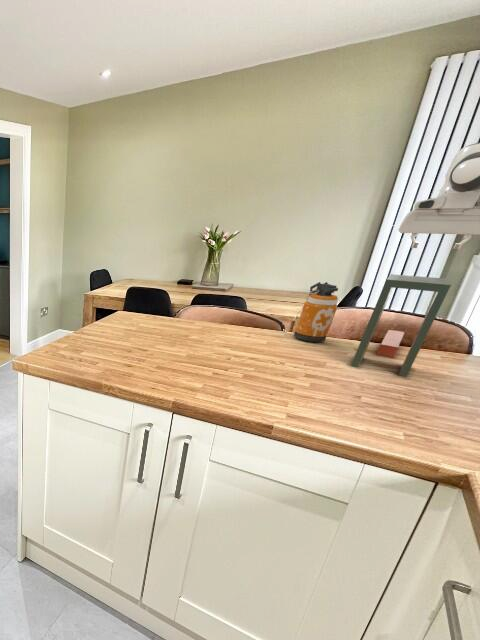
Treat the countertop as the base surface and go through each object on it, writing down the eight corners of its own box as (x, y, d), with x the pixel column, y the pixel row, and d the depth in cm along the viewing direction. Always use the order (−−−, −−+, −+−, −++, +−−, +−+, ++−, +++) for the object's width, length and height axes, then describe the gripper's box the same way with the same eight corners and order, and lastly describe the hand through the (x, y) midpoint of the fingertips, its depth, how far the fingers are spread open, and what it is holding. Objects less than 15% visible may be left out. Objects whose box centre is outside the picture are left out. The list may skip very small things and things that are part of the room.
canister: (302, 342, 140) (321, 285, 132) (284, 333, 150) (302, 279, 142) (330, 343, 139) (352, 286, 131) (311, 333, 149) (330, 279, 141)
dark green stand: (409, 366, 119) (452, 279, 108) (406, 377, 113) (451, 285, 102) (356, 356, 128) (390, 274, 117) (350, 365, 121) (386, 279, 110)
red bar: (400, 341, 139) (404, 332, 138) (393, 357, 126) (398, 347, 125) (384, 339, 142) (388, 329, 140) (376, 354, 129) (380, 344, 127)
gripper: (507, 201, 119) (483, 249, 125) (410, 203, 133) (393, 246, 139) (508, 201, 115) (484, 251, 121) (408, 203, 130) (390, 247, 135)
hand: (434, 248), depth 130 cm, fingers open, 8 cm apart
